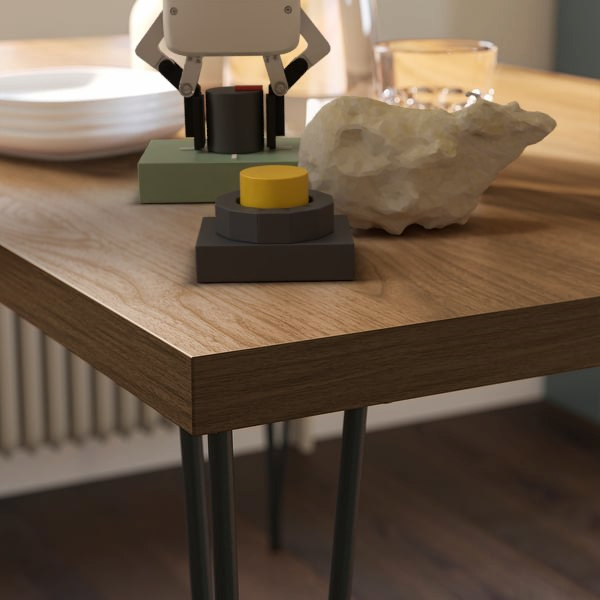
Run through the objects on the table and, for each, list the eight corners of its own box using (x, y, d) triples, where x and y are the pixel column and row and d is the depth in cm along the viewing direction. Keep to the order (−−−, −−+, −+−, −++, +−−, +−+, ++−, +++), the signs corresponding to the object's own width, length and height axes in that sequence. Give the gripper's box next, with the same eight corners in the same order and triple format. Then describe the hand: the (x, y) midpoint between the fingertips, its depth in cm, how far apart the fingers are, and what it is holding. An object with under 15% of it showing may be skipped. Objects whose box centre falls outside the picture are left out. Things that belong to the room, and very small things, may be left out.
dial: (205, 154, 88) (203, 90, 87) (208, 144, 92) (206, 82, 91) (264, 153, 88) (262, 89, 87) (264, 143, 92) (263, 81, 91)
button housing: (196, 282, 67) (193, 214, 66) (203, 250, 74) (201, 187, 72) (354, 280, 67) (354, 212, 66) (347, 248, 74) (347, 185, 73)
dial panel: (139, 203, 86) (137, 160, 85) (153, 176, 96) (151, 137, 95) (330, 200, 87) (329, 158, 86) (324, 173, 96) (324, 135, 95)
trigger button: (239, 214, 67) (238, 179, 67) (241, 198, 71) (240, 165, 70) (309, 213, 67) (309, 177, 67) (307, 197, 71) (307, 164, 71)
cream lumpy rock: (253, 258, 79) (362, 142, 67) (253, 166, 82) (356, 40, 70) (446, 300, 85) (576, 200, 73) (438, 213, 89) (562, 104, 77)
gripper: (344, -105, 88) (343, 136, 94) (117, -102, 88) (130, 139, 94) (350, -107, 81) (349, 154, 87) (103, -105, 81) (118, 157, 87)
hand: (235, 144), depth 90 cm, fingers open, 4 cm apart
